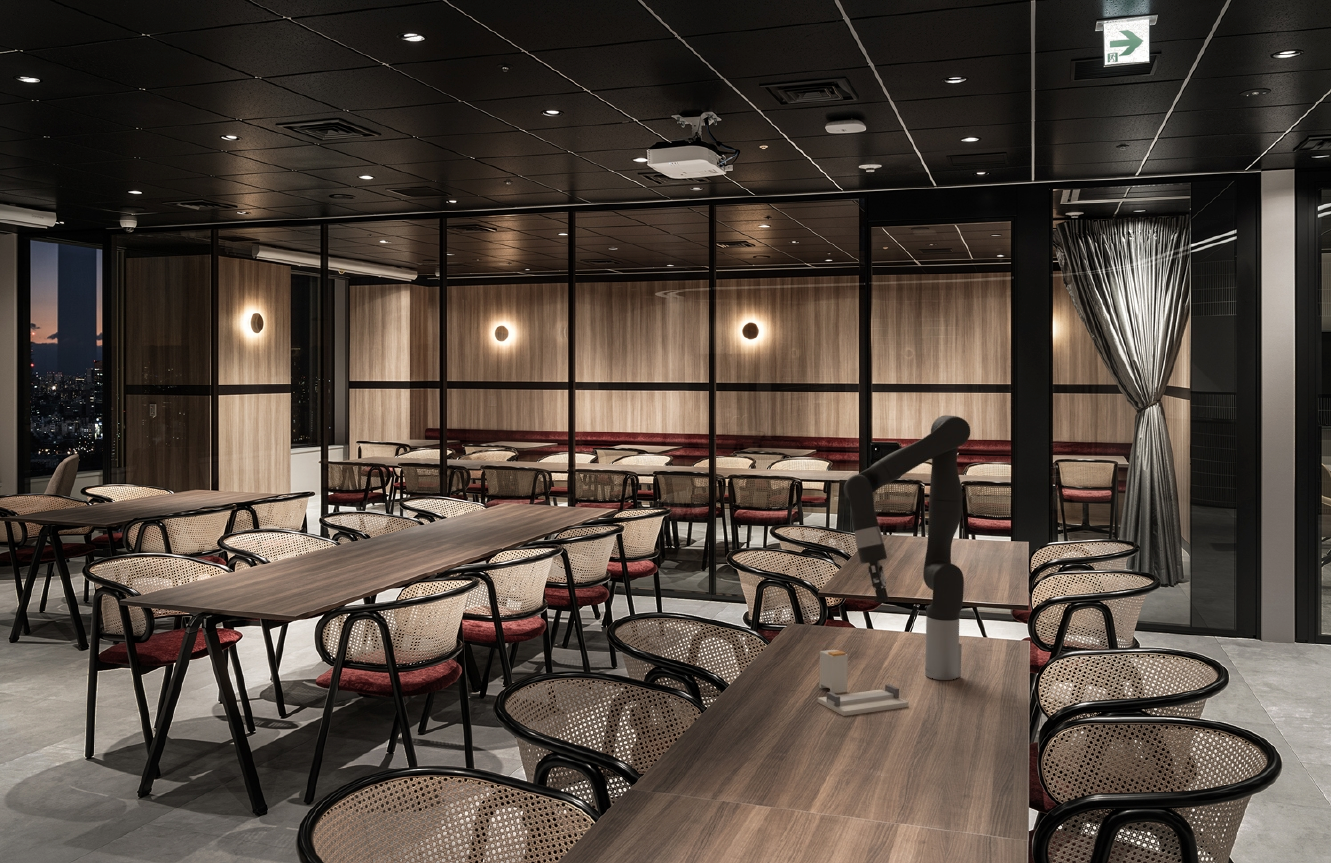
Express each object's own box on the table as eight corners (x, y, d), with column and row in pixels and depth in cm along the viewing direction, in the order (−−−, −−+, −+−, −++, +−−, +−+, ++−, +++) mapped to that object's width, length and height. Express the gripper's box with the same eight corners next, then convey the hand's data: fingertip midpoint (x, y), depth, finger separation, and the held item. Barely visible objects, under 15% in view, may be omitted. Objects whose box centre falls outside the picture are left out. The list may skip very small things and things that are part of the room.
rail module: (834, 685, 281) (835, 647, 280) (846, 691, 275) (847, 652, 275) (819, 687, 279) (820, 649, 278) (831, 693, 273) (832, 654, 273)
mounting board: (880, 693, 274) (881, 680, 274) (908, 706, 263) (908, 692, 263) (817, 702, 266) (818, 688, 266) (843, 715, 255) (844, 701, 255)
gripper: (881, 541, 277) (895, 600, 274) (885, 542, 291) (898, 598, 288) (854, 547, 279) (867, 605, 276) (859, 547, 293) (872, 603, 290)
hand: (883, 602), depth 282 cm, fingers open, 8 cm apart
